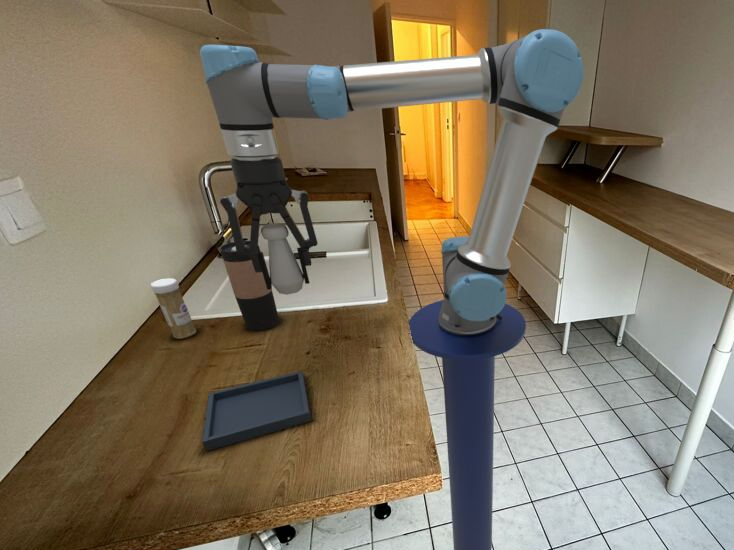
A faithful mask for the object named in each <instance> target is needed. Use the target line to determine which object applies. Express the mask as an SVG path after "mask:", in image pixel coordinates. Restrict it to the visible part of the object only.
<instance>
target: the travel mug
mask: <svg viewBox="0 0 734 550" xmlns="http://www.w3.org/2000/svg"><path fill="white" fill-rule="evenodd" d="M244 245H245V246H249V247H250V240H244ZM219 252H220V255H221V258H222V260H223V265H224V267H225V270H226V274H227V276H228V279H229V283H230V285H231V289H232V290H233V295H234V298H235V300H236V303H237V306H238V308H239V311H240V314H241V316H242V319H243V321H244V322H243V323H244V324H245V326H246V328H247V330H249V331H253V332H258V331H259V332H260V331H261V332H262V331H265V330H270V329H272V328H274V327H276V326H277V325H278V324H279V323H280V317H279V312H278V309H277V304H276V300H275V297H274V292H273V288H272V289H269V290H267V287H266V283H265V280H264V276H263V273H262V272H258V273H256V271H255V270H254V266H253V263H252V260H251V257H250V256H248V255H244V254H243V255H239V254H238V253H237V251H236V247H235V243H234V241H232V242H228V243H225V244H223V245H221V246H220V247H219ZM258 252H262V251H261V248H260V246H259V244H258Z"/></svg>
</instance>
